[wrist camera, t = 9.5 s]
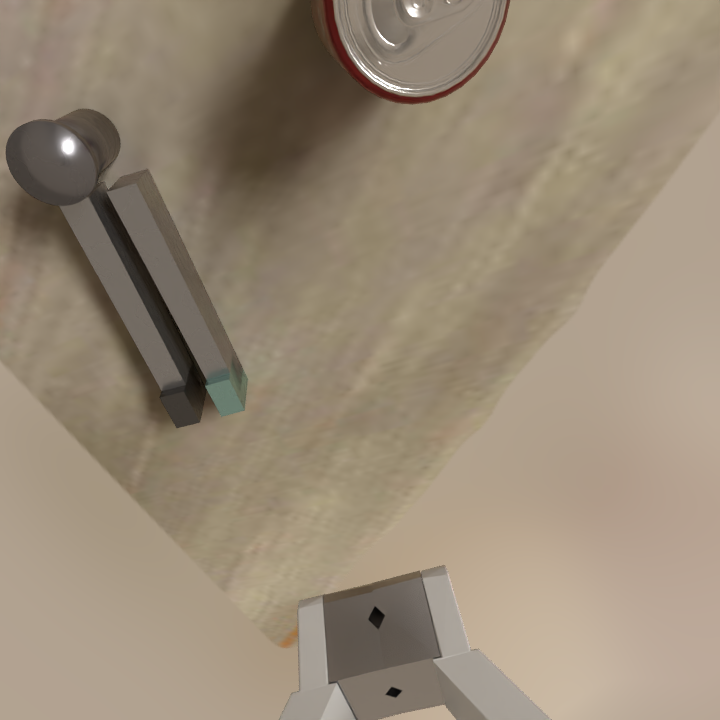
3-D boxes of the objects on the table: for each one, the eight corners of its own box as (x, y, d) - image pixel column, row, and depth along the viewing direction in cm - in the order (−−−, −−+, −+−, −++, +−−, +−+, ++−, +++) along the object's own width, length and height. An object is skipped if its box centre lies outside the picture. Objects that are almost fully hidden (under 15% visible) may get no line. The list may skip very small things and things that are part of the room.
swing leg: (120, 177, 33) (102, 196, 29) (148, 168, 33) (132, 187, 29) (226, 384, 42) (221, 416, 39) (247, 378, 42) (244, 410, 39)
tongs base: (36, 111, 30) (-19, 134, 25) (107, 93, 30) (69, 112, 25) (184, 395, 42) (170, 452, 37) (236, 382, 42) (229, 437, 37)
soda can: (326, 88, 31) (346, 125, 21) (294, -66, 27) (300, -108, 17) (444, 60, 31) (520, 84, 21) (431, -99, 27) (516, -160, 17)
